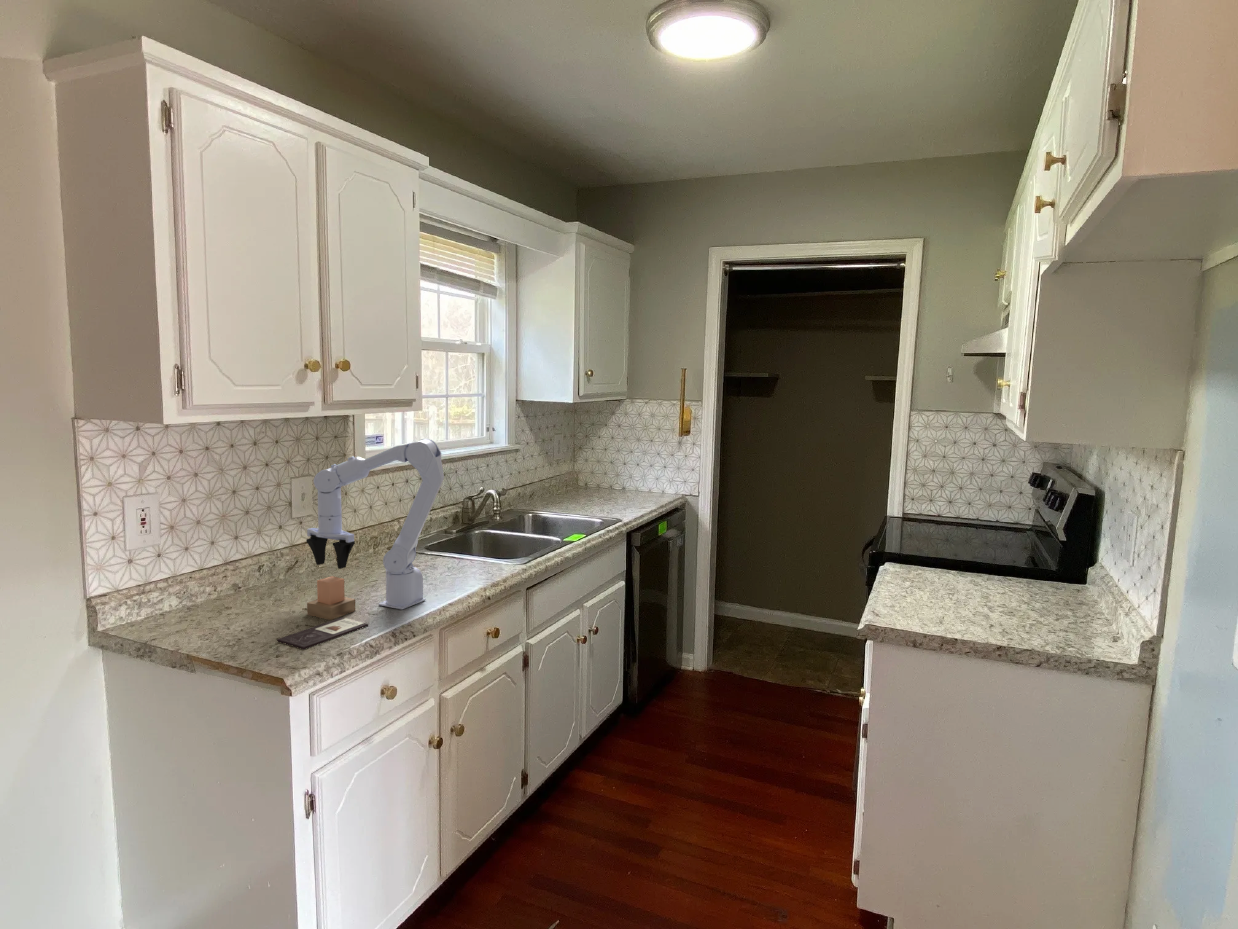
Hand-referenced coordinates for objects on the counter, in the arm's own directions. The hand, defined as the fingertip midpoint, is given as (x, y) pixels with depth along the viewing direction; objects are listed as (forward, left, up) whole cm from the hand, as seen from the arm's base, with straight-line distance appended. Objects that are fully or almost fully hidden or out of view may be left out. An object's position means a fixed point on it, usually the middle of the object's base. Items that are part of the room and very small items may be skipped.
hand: (331, 566), depth 191 cm
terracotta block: (+6, +6, -7) cm, 11 cm away
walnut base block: (+6, +6, -10) cm, 13 cm away
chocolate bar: (+18, +16, -11) cm, 26 cm away
